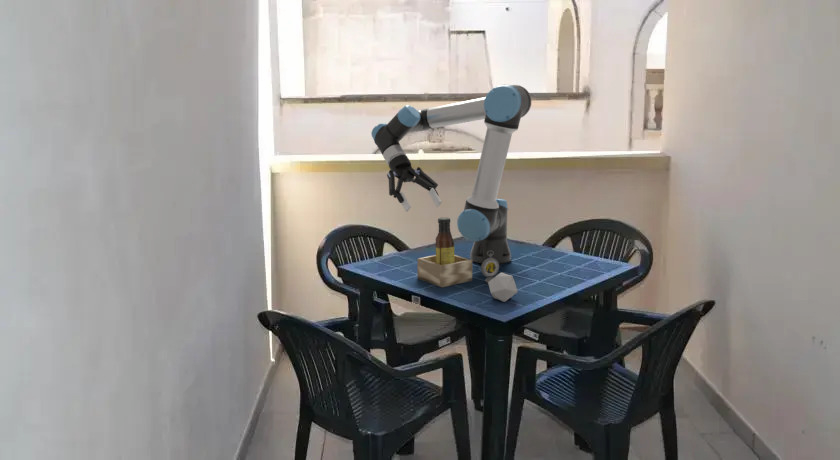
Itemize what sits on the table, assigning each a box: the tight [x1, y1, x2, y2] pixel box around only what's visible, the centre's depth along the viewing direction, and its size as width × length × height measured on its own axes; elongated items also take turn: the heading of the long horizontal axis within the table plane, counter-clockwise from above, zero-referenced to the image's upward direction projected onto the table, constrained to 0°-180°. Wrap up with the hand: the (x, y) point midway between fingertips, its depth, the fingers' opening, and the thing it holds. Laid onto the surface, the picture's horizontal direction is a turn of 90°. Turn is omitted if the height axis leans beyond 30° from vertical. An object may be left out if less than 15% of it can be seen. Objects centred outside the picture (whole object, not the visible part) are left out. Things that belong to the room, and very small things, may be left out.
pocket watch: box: [480, 251, 500, 284], centre depth 223 cm, size 8×8×10 cm
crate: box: [417, 254, 473, 288], centre depth 226 cm, size 13×13×7 cm
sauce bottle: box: [435, 216, 455, 265], centre depth 224 cm, size 6×6×20 cm
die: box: [487, 272, 519, 303], centre depth 205 cm, size 8×9×10 cm
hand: (424, 206), depth 235 cm, fingers open, 13 cm apart
